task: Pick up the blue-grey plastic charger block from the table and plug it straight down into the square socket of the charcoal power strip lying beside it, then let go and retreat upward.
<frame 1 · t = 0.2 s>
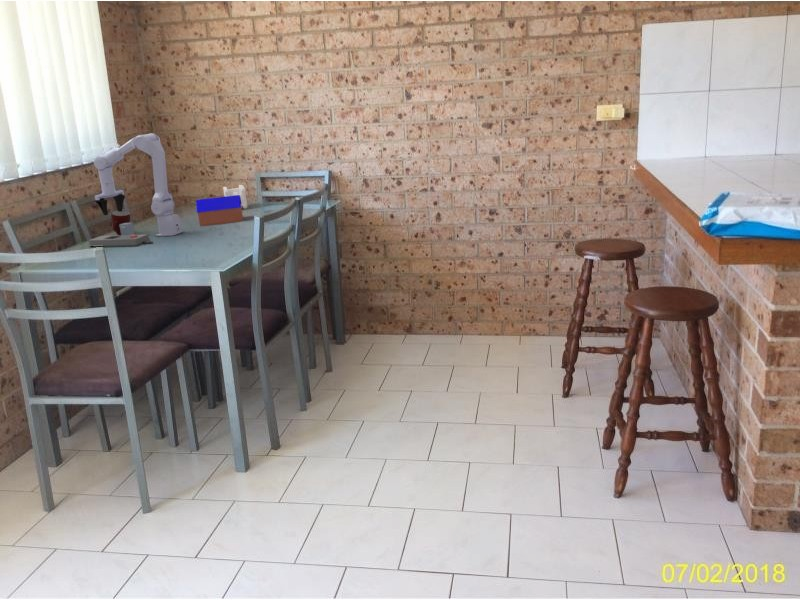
hand: (112, 213, 337), 11 cm above the table, fingers open, 7 cm apart
mug: (120, 235, 341), on the table, touching gripper
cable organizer: (237, 209, 385), on the table
charger: (129, 239, 330), on the table
blue-topped brown box: (222, 222, 352), on the table
power strip: (119, 244, 320), on the table
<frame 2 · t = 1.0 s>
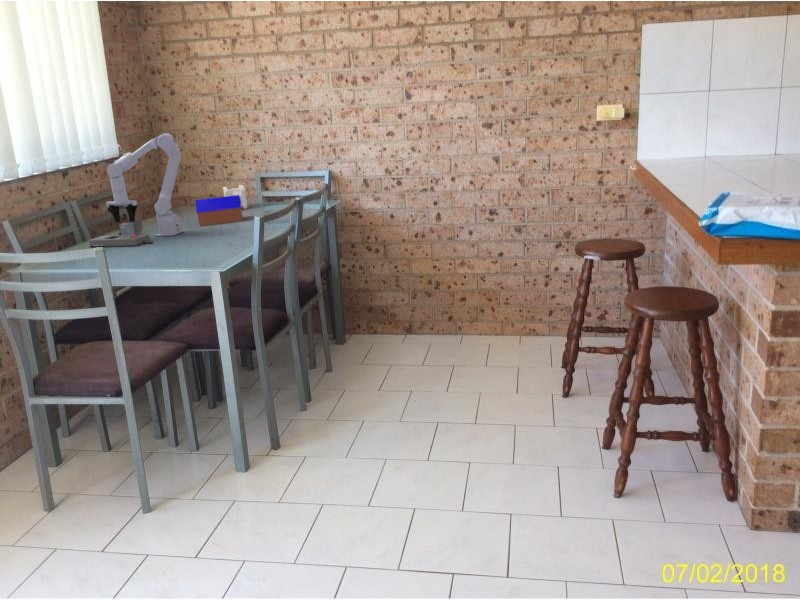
hand: (125, 222, 328), 8 cm above the table, fingers open, 7 cm apart
mug: (121, 231, 340), point 2 cm above the table, touching charger
charger: (128, 239, 330), on the table, touching mug
everything else where it was.
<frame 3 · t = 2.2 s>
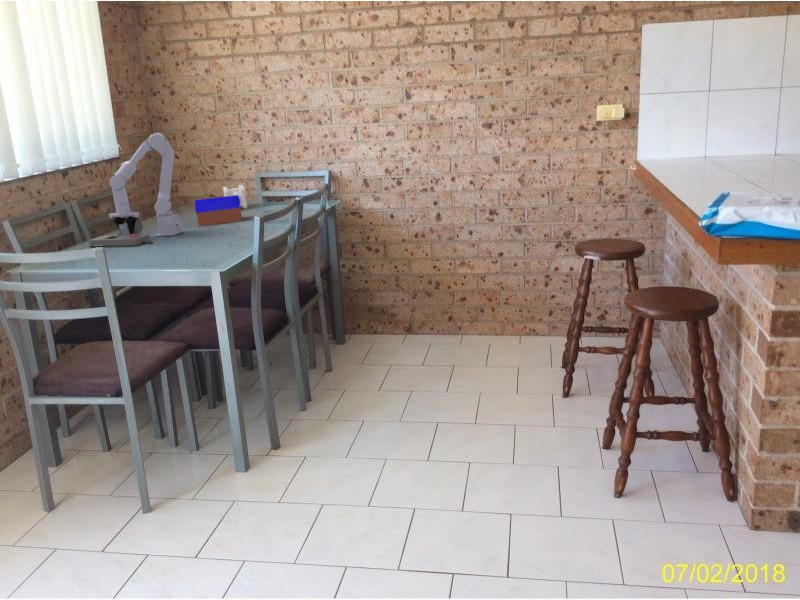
hand: (127, 233, 329), 2 cm above the table, fingers closed on charger, 4 cm apart
mug: (121, 231, 340), point 2 cm above the table
charger: (128, 239, 330), on the table, touching gripper
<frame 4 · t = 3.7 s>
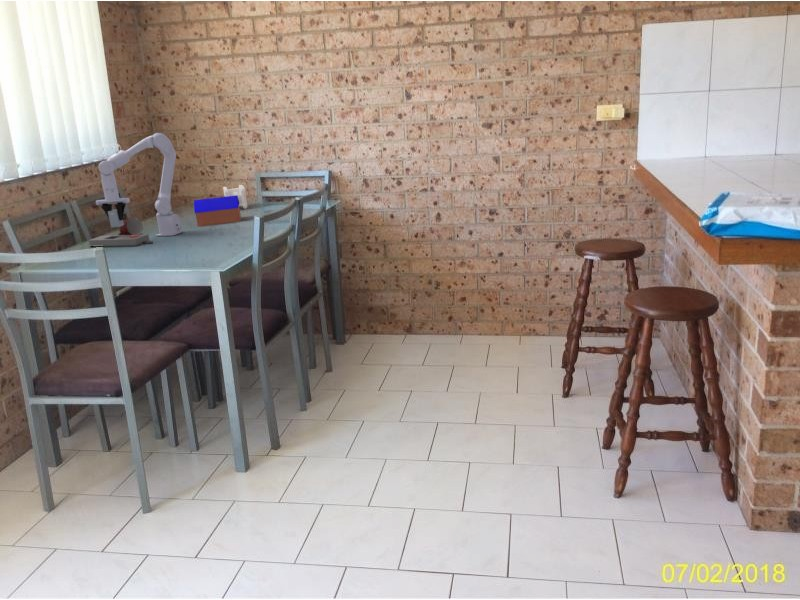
hand: (116, 220, 323), 10 cm above the table, fingers closed on charger, 4 cm apart
charger: (117, 226, 323), point 7 cm above the table, touching gripper
when the fingers open (4 cm above the table, at t = 5.7 s): charger stays where it is, resting on power strip.
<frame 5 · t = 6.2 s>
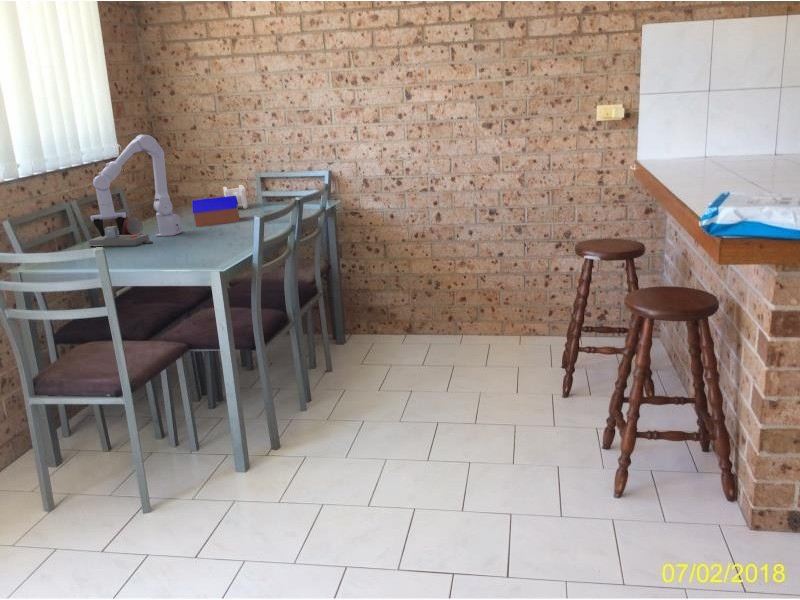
hand: (112, 235, 320), 4 cm above the table, fingers open, 7 cm apart
charger: (113, 243, 321), resting on power strip
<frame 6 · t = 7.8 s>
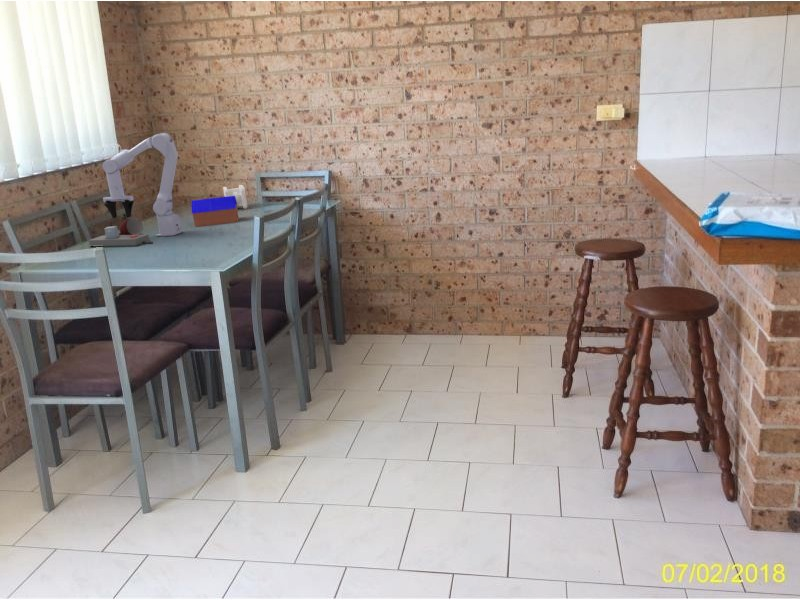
hand: (121, 217, 330), 9 cm above the table, fingers open, 7 cm apart
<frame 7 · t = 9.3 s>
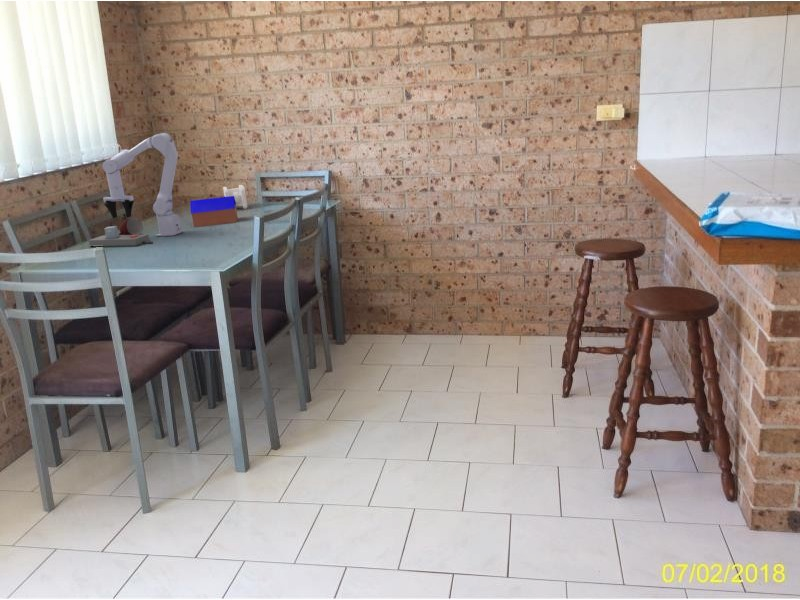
hand: (122, 217, 330), 9 cm above the table, fingers open, 7 cm apart
at the end: charger 0.1 cm from the target spot on the power strip, point 0.5 cm above the power strip's base; charger tilted 0°; the gripper is holding nothing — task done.
